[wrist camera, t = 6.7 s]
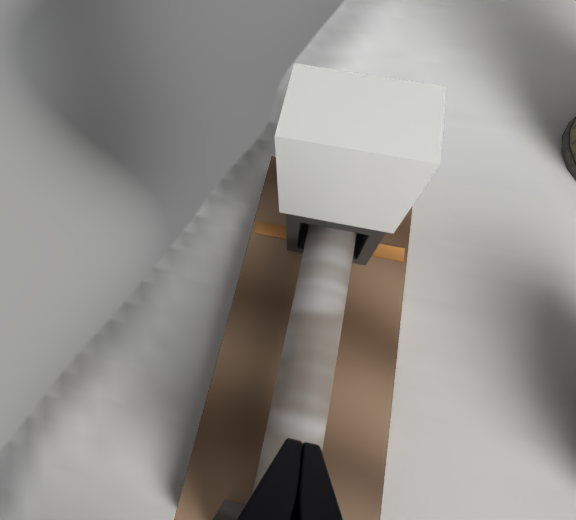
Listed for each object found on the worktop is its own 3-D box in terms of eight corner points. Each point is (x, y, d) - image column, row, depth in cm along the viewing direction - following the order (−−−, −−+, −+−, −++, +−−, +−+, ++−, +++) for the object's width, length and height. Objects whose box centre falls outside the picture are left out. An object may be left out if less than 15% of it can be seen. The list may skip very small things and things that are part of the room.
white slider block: (371, 266, 19) (440, 164, 10) (281, 249, 20) (274, 135, 11) (377, 217, 20) (446, 87, 11) (292, 202, 21) (294, 63, 12)
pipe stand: (366, 562, 16) (407, 656, 11) (181, 515, 17) (128, 579, 11) (407, 194, 23) (445, 131, 17) (272, 170, 24) (267, 102, 18)
